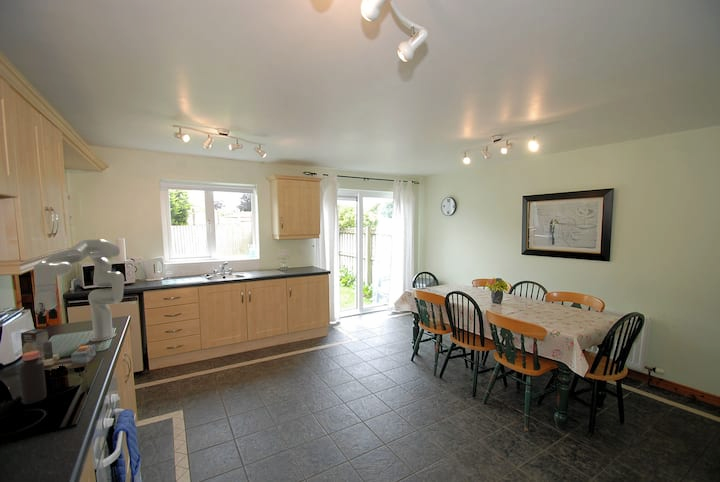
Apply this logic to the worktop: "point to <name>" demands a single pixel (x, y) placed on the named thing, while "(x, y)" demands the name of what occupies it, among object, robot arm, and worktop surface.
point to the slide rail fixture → (74, 359)
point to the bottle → (32, 378)
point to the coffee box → (34, 340)
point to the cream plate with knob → (49, 354)
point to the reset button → (83, 348)
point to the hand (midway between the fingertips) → (47, 321)
